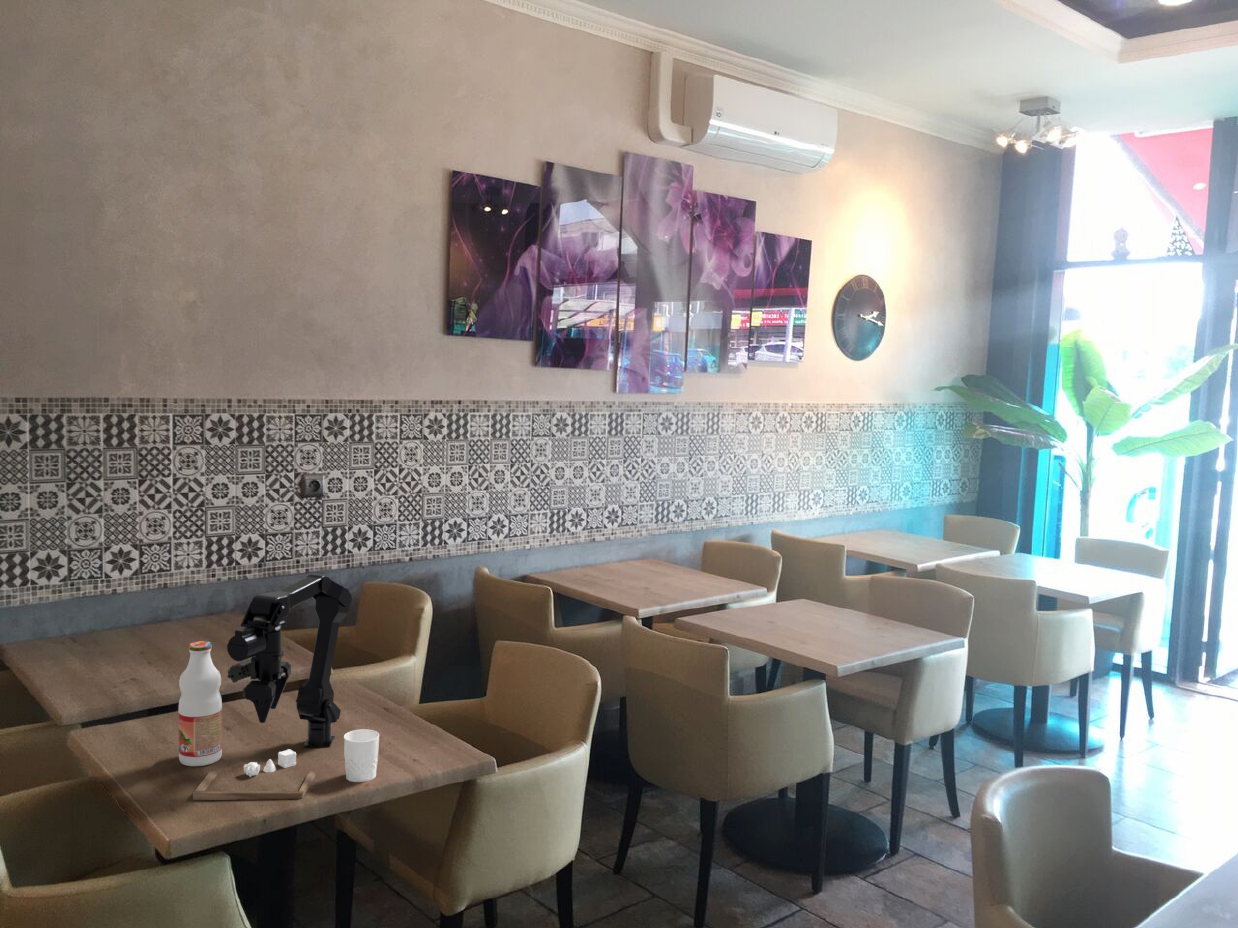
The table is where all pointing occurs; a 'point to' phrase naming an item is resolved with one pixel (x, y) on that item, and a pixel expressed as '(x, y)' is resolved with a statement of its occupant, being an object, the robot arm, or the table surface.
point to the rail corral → (234, 795)
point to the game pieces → (285, 760)
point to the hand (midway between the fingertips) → (267, 715)
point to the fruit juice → (200, 709)
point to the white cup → (361, 754)
